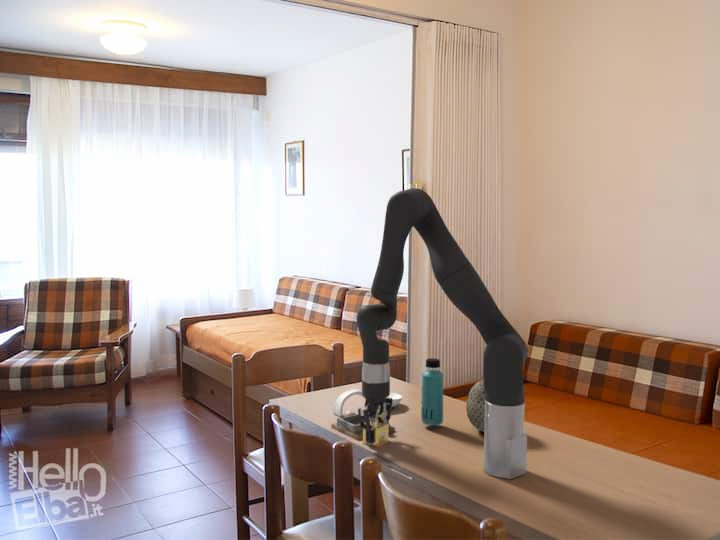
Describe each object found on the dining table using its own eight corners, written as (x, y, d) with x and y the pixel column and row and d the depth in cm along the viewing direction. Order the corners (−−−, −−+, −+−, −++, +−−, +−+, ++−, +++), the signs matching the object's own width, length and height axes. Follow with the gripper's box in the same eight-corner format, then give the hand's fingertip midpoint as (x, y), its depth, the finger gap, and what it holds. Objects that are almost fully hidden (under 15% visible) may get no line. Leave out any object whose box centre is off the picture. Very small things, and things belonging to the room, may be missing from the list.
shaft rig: (397, 432, 186) (397, 419, 186) (360, 441, 179) (360, 428, 178) (365, 418, 199) (365, 406, 198) (329, 426, 191) (329, 414, 191)
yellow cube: (388, 441, 179) (388, 423, 178) (378, 447, 175) (378, 428, 174) (372, 437, 182) (372, 420, 181) (362, 443, 177) (362, 425, 177)
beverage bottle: (443, 423, 194) (444, 356, 192) (443, 431, 187) (444, 361, 185) (420, 422, 194) (421, 356, 193) (420, 430, 188) (421, 361, 186)
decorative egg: (470, 438, 181) (471, 385, 180) (462, 425, 193) (463, 374, 191) (512, 438, 181) (514, 385, 180) (502, 424, 193) (503, 374, 192)
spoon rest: (387, 399, 219) (387, 378, 218) (409, 408, 209) (409, 386, 209) (326, 411, 206) (326, 389, 205) (347, 421, 196) (347, 398, 196)
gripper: (378, 371, 184) (377, 430, 186) (349, 381, 173) (348, 445, 174) (401, 374, 180) (401, 435, 182) (373, 386, 168) (372, 450, 170)
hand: (375, 439), depth 178 cm, fingers closed on yellow cube, 5 cm apart
